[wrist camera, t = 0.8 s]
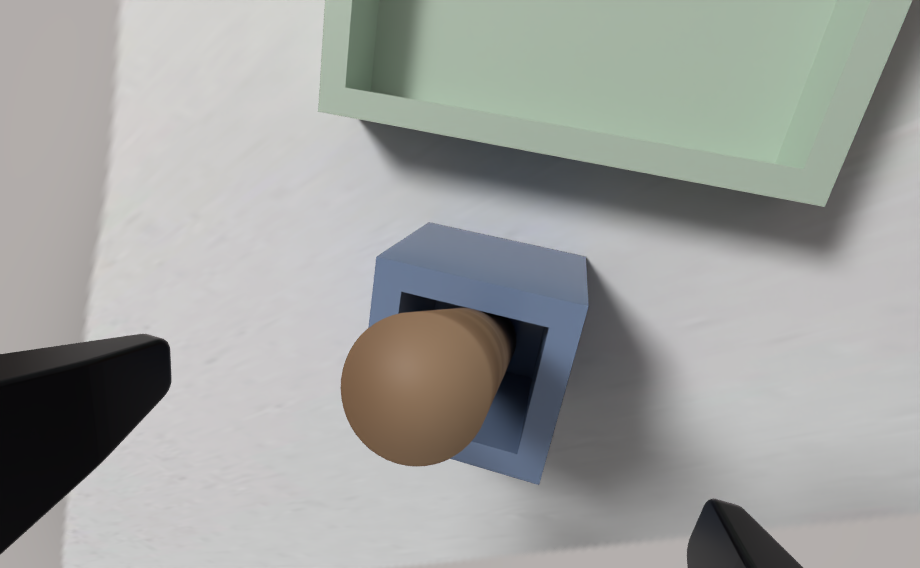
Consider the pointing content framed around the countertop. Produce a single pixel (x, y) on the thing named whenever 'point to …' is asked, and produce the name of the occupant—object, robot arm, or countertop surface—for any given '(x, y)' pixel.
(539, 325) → the slate blue cup
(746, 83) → the sage tray
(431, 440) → the walnut dowel
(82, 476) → the robot arm
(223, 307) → the countertop surface
